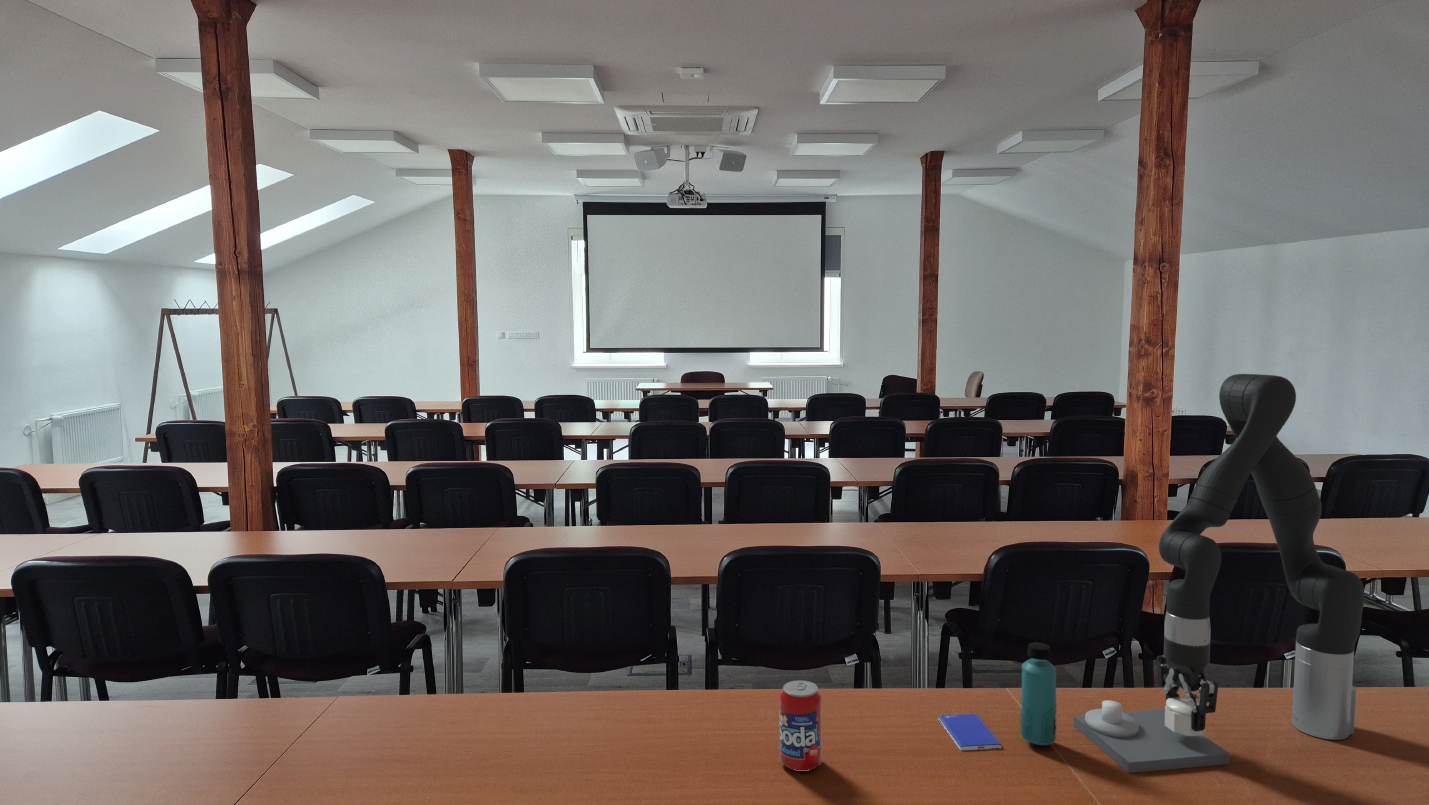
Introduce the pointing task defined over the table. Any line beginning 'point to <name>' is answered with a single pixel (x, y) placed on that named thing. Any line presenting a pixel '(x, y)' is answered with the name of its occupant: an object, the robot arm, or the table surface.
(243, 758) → the table surface
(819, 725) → the soda can
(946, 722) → the hard drive
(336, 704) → the table surface
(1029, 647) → the beverage bottle
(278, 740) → the table surface
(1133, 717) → the threaded post stand
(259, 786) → the table surface
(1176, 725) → the cap
